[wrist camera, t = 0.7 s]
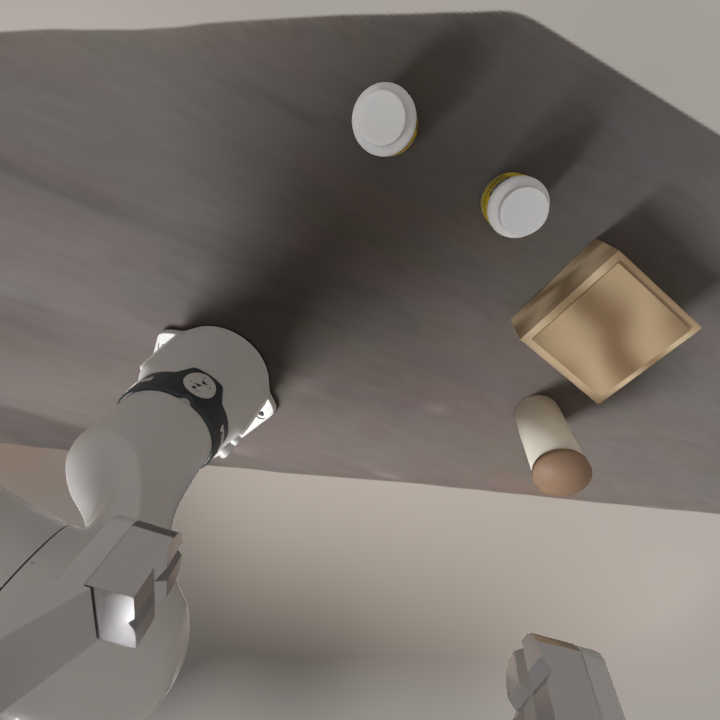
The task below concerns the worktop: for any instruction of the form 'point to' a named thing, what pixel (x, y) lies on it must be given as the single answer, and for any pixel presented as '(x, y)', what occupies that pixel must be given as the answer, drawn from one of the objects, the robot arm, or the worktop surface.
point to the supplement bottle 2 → (515, 204)
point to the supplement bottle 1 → (385, 119)
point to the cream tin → (551, 447)
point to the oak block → (602, 321)
